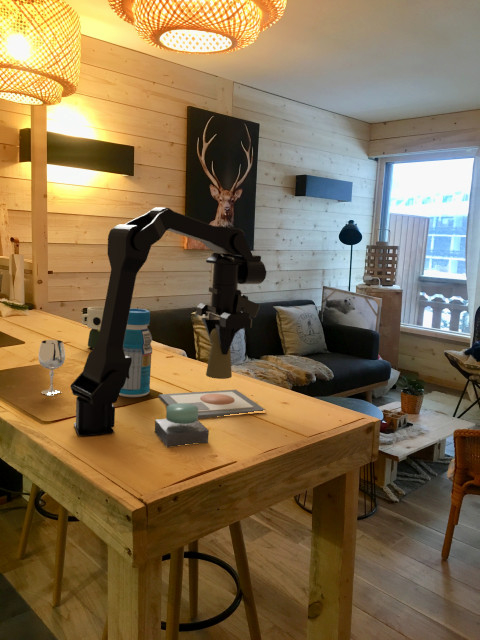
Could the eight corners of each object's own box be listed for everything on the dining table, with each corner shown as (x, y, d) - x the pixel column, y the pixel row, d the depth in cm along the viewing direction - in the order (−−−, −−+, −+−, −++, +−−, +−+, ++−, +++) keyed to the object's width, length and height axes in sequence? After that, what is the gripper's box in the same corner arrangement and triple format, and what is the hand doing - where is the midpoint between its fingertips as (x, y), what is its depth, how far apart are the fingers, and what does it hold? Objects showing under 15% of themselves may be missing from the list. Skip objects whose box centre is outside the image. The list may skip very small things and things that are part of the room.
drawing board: (180, 420, 113) (180, 415, 113) (158, 397, 127) (158, 393, 127) (265, 413, 121) (265, 408, 121) (235, 392, 136) (236, 388, 136)
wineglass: (57, 387, 129) (58, 338, 128) (68, 393, 125) (70, 343, 124) (33, 391, 125) (34, 340, 124) (44, 397, 121) (45, 345, 120)
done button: (171, 425, 99) (172, 414, 99) (162, 414, 104) (162, 404, 104) (202, 422, 102) (202, 412, 101) (191, 412, 107) (192, 402, 107)
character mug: (84, 351, 169) (85, 310, 167) (77, 346, 174) (78, 306, 172) (117, 349, 175) (119, 309, 173) (109, 344, 180) (111, 306, 178)
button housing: (167, 447, 98) (167, 434, 98) (154, 431, 105) (155, 419, 105) (207, 443, 102) (208, 430, 101) (193, 428, 109) (194, 416, 108)
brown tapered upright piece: (237, 376, 125) (240, 329, 124) (218, 380, 121) (222, 331, 119) (218, 370, 129) (222, 325, 128) (200, 374, 125) (203, 327, 123)
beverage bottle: (118, 399, 124) (121, 313, 121) (110, 388, 131) (113, 307, 128) (154, 397, 128) (158, 313, 125) (144, 387, 135) (148, 307, 132)
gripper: (276, 290, 117) (270, 360, 119) (239, 281, 134) (235, 343, 136) (229, 288, 112) (223, 362, 114) (197, 279, 129) (193, 343, 131)
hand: (220, 352), depth 124 cm, fingers closed on brown tapered upright piece, 5 cm apart
